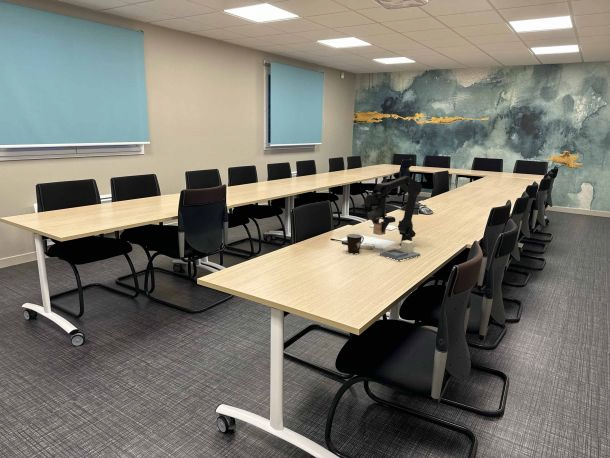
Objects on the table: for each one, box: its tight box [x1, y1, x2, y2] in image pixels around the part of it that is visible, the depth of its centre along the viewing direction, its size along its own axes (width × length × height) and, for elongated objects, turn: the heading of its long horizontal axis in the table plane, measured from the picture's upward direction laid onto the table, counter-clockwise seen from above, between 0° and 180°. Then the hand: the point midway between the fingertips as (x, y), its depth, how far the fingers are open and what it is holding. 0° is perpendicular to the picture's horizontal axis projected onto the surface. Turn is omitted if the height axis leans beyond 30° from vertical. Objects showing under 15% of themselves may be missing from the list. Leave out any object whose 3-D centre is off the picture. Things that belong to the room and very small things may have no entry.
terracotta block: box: [372, 222, 387, 236], centre depth 249 cm, size 5×5×6 cm
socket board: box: [379, 240, 421, 262], centre depth 239 cm, size 18×14×8 cm
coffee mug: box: [346, 233, 365, 255], centre depth 244 cm, size 12×9×10 cm
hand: (379, 231), depth 249 cm, fingers closed on terracotta block, 5 cm apart
